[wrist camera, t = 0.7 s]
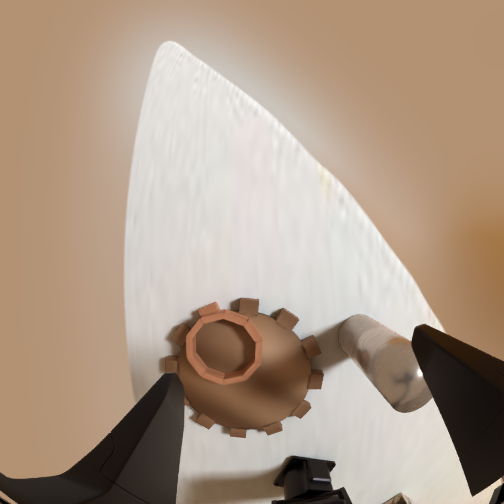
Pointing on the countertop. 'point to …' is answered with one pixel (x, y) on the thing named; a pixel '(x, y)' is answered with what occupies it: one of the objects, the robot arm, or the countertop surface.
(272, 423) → the sprocket
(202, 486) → the countertop surface
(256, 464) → the countertop surface
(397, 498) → the coffee box
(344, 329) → the drive pin
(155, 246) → the countertop surface
